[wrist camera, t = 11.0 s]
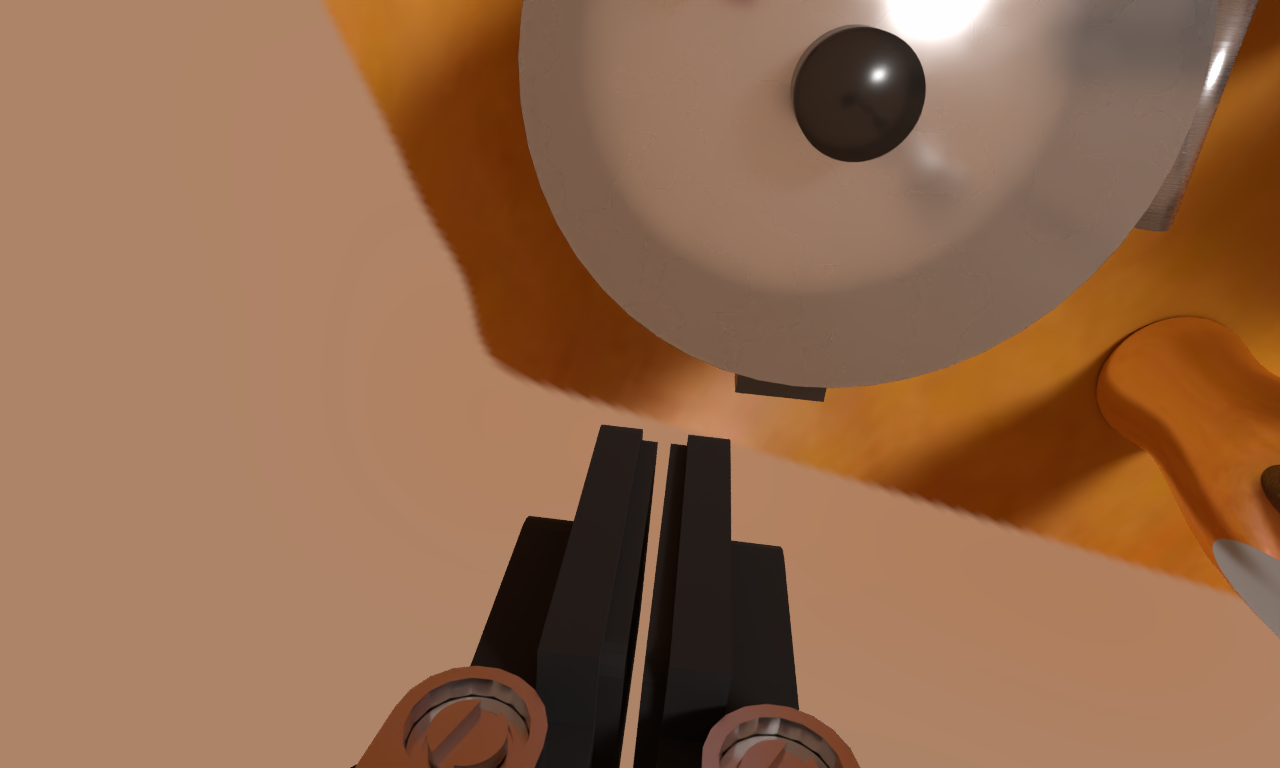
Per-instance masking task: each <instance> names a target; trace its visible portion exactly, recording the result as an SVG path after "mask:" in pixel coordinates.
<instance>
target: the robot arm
mask: <svg viewBox="0 0 1280 768" xmlns="http://www.w3.org/2000/svg"><path fill="white" fill-rule="evenodd" d="M642 437H643V430H642V429H635V428H627V427H618V426H609V425H601V427H600V430H599V434H598V437H597V441H596V445H595V448H594V452H593V455H592V459H591V462H590V466H589V469H588V473H587V477H586V480H585V483H584V487H583V491H582V494H581V498H580V501H579V505H578V508H577V512H576V516H575V519H574V521H567V520H559V519H558V520H557V519H550V518H541V517H533V516H529V517H528V518H526V520H525V522H524V524H523V526H522V529H521V532H520V535H519V537H518V540H517V543H516V545H515V548H514V551H513V553H512V556H511V559H510V561H509V564H508V567H507V570H506V572H505V575H504V577H503V580H502V583H501V585H500V589H499V591H498V593H497V596H496V599H495V602H494V604H493V607H492V610H491V612H490V615H489V618H488V620H487V623H486V626H485V628H484V631H483V634H482V636H481V639H480V642H479V644H478V647H477V650H476V652H475V655H474V658H473V661H472V663H471V666H469V667H461V668H453V669H450V670H447V671H444V672H442V673H439V674H436V675H433V676H430V677H429V678H427V679H426V680H424V681H423V682H421V683H419V684H418V685H417V686H415V687H413V688H412V689H410V690H409V692H408V693H407V694H406V695H405V696H404V697H403V698H402V700H401V701H400V702H399V703H398V704H397V705H396V706H395V708H394V709H393V711H392V712H391V714H390V715H389V717H388V718H387V720H386V721H385V723H384V724H383V726H382V727H381V729H380V730H379V732H378V733H377V735H376V737H375V738H374V740H373V741H372V743H371V744H370V746H369V747H368V749H367V750H366V752H365V753H364V755H363V756H362V758H361V759H360V761H359V762H358V764H357V765H355V766H353V767H351V768H619V767H620V759H621V751H622V744H623V737H624V730H625V723H626V715H627V708H628V700H629V693H630V685H631V678H632V671H633V664H634V657H635V649H636V641H637V634H638V627H639V619H640V611H641V602H642V592H643V582H644V572H645V562H646V553H647V543H648V533H649V524H650V514H651V505H652V495H653V485H654V475H655V465H656V455H657V445H658V442H652V441H643V440H642ZM730 458H731V457H730V439H721V438H713V437H704V436H695V435H688V442H687V446H686V445H677V444H671V448H670V457H669V466H668V473H667V482H666V490H665V498H664V507H663V515H662V523H661V531H660V540H659V548H658V556H657V565H656V573H655V582H654V589H653V598H652V606H651V615H650V623H649V631H648V640H647V649H646V656H645V665H644V674H643V683H642V692H641V701H640V710H639V720H638V728H637V737H636V746H635V755H634V765H633V768H860V766H859V764H858V762H857V760H856V758H855V757H854V755H853V752H852V751H851V749H850V747H849V746H848V745H847V744H846V743H845V742H844V741H843V740H842V739H841V738H840V736H839V735H838V734H837V733H836V732H835V731H834V730H833V729H831V728H830V727H828V726H827V725H825V724H824V723H823V722H821V721H820V720H818V719H817V718H815V717H814V716H811V715H809V714H806V713H804V712H801V711H799V705H798V695H797V684H796V674H795V664H794V654H793V644H792V634H791V624H790V613H789V603H788V594H787V584H786V572H785V562H784V555H783V550H782V548H781V547H779V546H771V545H763V544H754V543H746V542H738V541H731V463H730V462H731V459H730Z"/></svg>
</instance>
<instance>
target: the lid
mask: <svg viewBox="0 0 1280 768" xmlns="http://www.w3.org/2000/svg"><path fill="white" fill-rule="evenodd" d="M1258 1H1259V0H524V1H523V6H522V11H521V25H520V40H519V54H518V64H519V83H520V102H521V109H522V115H523V120H524V126H525V132H526V137H527V143H528V148H529V151H530V154H531V158H532V161H533V164H534V167H535V171H536V174H537V177H538V181H539V184H540V187H541V189H542V191H543V194H544V196H545V198H546V200H547V203H548V205H549V207H550V209H551V212H552V214H553V216H554V218H555V221H556V223H557V225H558V226H559V228H560V230H561V231H562V233H563V235H564V236H565V238H566V240H567V241H568V243H569V245H570V246H571V248H572V250H573V251H574V253H575V255H576V256H577V258H578V259H579V260H580V262H581V263H582V264H583V265H584V267H585V268H586V269H587V270H588V272H589V273H590V274H591V276H592V277H593V278H594V279H595V281H596V282H597V283H598V284H599V286H600V287H601V288H602V289H603V290H604V291H605V292H606V293H607V294H608V295H609V296H610V297H611V298H612V299H613V300H614V301H615V302H616V303H617V304H618V305H619V306H620V307H621V308H622V309H623V310H624V311H625V312H626V313H627V314H628V315H630V316H631V317H632V318H634V319H635V320H636V321H638V322H639V323H640V324H642V325H643V326H644V327H645V328H647V329H648V330H649V331H651V332H652V333H653V334H655V335H656V336H657V337H659V338H661V339H662V340H664V341H666V342H667V343H669V344H671V345H673V346H674V347H676V348H678V349H679V350H681V351H683V352H685V353H686V354H688V355H690V356H692V357H694V358H697V359H699V360H701V361H704V362H706V363H708V364H711V365H713V366H715V367H718V368H720V369H722V370H726V371H729V372H732V373H736V374H739V375H743V376H746V377H750V378H753V379H756V380H761V381H767V382H773V383H779V384H785V385H791V386H802V387H822V388H840V387H855V386H870V385H876V384H881V383H887V382H893V381H898V380H904V379H909V378H912V377H916V376H919V375H923V374H926V373H929V372H933V371H936V370H939V369H943V368H946V367H949V366H951V365H954V364H956V363H958V362H961V361H963V360H965V359H968V358H970V357H973V356H975V355H977V354H980V353H982V352H985V351H986V350H988V349H990V348H992V347H994V346H995V345H997V344H999V343H1001V342H1003V341H1005V340H1006V339H1008V338H1010V337H1012V336H1014V335H1015V334H1017V333H1019V332H1021V331H1022V330H1024V329H1025V328H1027V327H1028V326H1030V325H1031V324H1032V323H1034V322H1035V321H1037V320H1038V319H1040V318H1041V317H1042V316H1044V315H1045V314H1047V313H1048V312H1050V311H1051V310H1053V309H1054V308H1055V307H1057V306H1058V305H1059V304H1060V303H1061V302H1063V301H1064V300H1065V299H1066V298H1067V297H1068V296H1069V295H1071V294H1072V293H1073V292H1074V291H1075V290H1076V289H1077V288H1079V287H1080V286H1081V285H1082V284H1083V283H1084V282H1086V281H1087V280H1088V279H1089V278H1090V277H1091V276H1092V275H1093V274H1094V273H1095V272H1096V271H1097V270H1098V268H1099V267H1100V266H1101V265H1102V264H1103V263H1104V262H1105V261H1106V260H1107V259H1108V258H1109V257H1110V256H1111V254H1112V253H1113V252H1114V251H1115V250H1116V249H1117V248H1118V247H1119V246H1120V245H1121V244H1122V242H1123V241H1124V240H1125V238H1126V237H1127V236H1128V234H1129V233H1130V232H1131V230H1132V229H1133V227H1135V228H1139V229H1145V230H1152V231H1168V230H1170V229H1171V226H1172V223H1173V221H1174V218H1175V216H1176V213H1177V210H1178V208H1179V205H1180V203H1181V200H1182V197H1183V195H1184V192H1185V190H1186V187H1187V185H1188V182H1189V179H1190V177H1191V174H1192V172H1193V169H1194V166H1195V164H1196V161H1197V159H1198V156H1199V153H1200V151H1201V148H1202V146H1203V143H1204V140H1205V138H1206V135H1207V133H1208V130H1209V128H1210V125H1211V122H1212V120H1213V117H1214V115H1215V112H1216V109H1217V107H1218V104H1219V102H1220V99H1221V96H1222V94H1223V91H1224V89H1225V86H1226V84H1227V81H1228V78H1229V76H1230V73H1231V71H1232V68H1233V65H1234V63H1235V60H1236V58H1237V55H1238V52H1239V50H1240V47H1241V45H1242V42H1243V40H1244V37H1245V34H1246V32H1247V29H1248V27H1249V24H1250V21H1251V19H1252V16H1253V14H1254V11H1255V8H1256V6H1257V3H1258Z"/></svg>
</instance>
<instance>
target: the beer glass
mask: <svg viewBox="0 0 1280 768" xmlns="http://www.w3.org/2000/svg"><path fill="white" fill-rule="evenodd" d="M1096 395H1097V402H1098V406H1099V409H1100V411H1101V413H1102V415H1103V417H1104V418H1105V420H1106V421H1107V422H1108V423H1109V425H1110V426H1111V427H1113V428H1114V429H1115V430H1116V431H1117V432H1118V433H1120V434H1121V435H1122V436H1124V437H1125V438H1127V439H1128V440H1130V441H1131V442H1133V443H1135V444H1136V445H1138V446H1139V447H1141V448H1142V449H1144V450H1145V451H1146V452H1147V453H1148V454H1149V455H1150V456H1151V457H1152V458H1153V459H1154V461H1155V462H1156V463H1157V465H1158V466H1159V468H1160V470H1161V472H1162V474H1163V476H1164V478H1165V479H1166V482H1167V484H1168V486H1169V488H1170V490H1171V492H1172V494H1173V496H1174V498H1175V500H1176V502H1177V504H1178V506H1179V508H1180V510H1181V512H1182V514H1183V516H1184V518H1185V520H1186V522H1187V524H1188V525H1189V527H1190V529H1191V531H1192V532H1193V534H1194V536H1195V537H1196V539H1197V541H1198V542H1199V544H1200V546H1201V547H1202V549H1203V551H1204V552H1205V554H1206V555H1207V557H1208V558H1209V559H1210V561H1211V562H1212V563H1213V565H1214V566H1215V567H1216V568H1217V570H1218V571H1219V572H1220V574H1221V575H1222V576H1223V578H1224V579H1225V580H1226V581H1227V583H1228V584H1229V585H1230V586H1231V588H1232V589H1233V590H1234V591H1235V592H1236V593H1237V594H1238V595H1239V596H1240V598H1241V599H1242V600H1243V601H1244V602H1245V603H1246V604H1247V605H1248V606H1249V608H1250V609H1251V610H1252V611H1253V612H1254V613H1255V614H1256V615H1257V616H1258V617H1259V618H1260V619H1261V620H1262V621H1263V622H1264V623H1265V624H1266V625H1267V626H1268V627H1269V628H1270V629H1271V630H1272V631H1273V632H1274V633H1275V634H1276V635H1277V636H1278V637H1279V638H1280V377H1279V376H1277V375H1275V374H1274V373H1272V372H1270V371H1269V370H1268V369H1266V368H1265V367H1264V366H1263V365H1261V364H1260V363H1259V362H1258V360H1257V359H1256V358H1255V357H1254V356H1253V355H1252V353H1251V352H1250V351H1249V349H1248V348H1247V347H1246V345H1245V344H1244V343H1243V341H1242V340H1241V339H1240V338H1239V337H1238V336H1237V335H1236V334H1235V333H1234V332H1233V331H1232V330H1230V329H1229V328H1228V327H1226V326H1224V325H1222V324H1220V323H1218V322H1215V321H1212V320H1209V319H1205V318H1200V317H1175V318H1169V319H1165V320H1161V321H1158V322H1155V323H1153V324H1150V325H1148V326H1146V327H1144V328H1142V329H1140V330H1138V331H1137V332H1135V333H1133V334H1132V335H1130V336H1129V337H1128V338H1126V339H1125V340H1124V341H1123V342H1122V343H1121V344H1120V345H1119V346H1118V347H1117V348H1116V349H1115V350H1114V351H1113V352H1112V353H1111V355H1110V356H1109V357H1108V359H1107V360H1106V362H1105V364H1104V365H1103V367H1102V369H1101V372H1100V374H1099V378H1098V382H1097V389H1096Z"/></svg>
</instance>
